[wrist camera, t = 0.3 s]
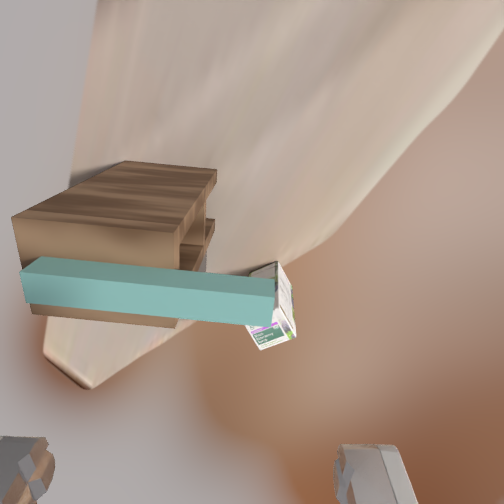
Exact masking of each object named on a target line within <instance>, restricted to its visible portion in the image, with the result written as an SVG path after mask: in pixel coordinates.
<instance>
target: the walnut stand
mask: <svg viewBox="0 0 504 504" xmlns="http://www.w3.org/2000/svg"><path fill="white" fill-rule="evenodd" d="M216 182H217V169H207V168H197V167H186V166H176V165H166V164H155V163H145V162H134V161H124V162H122V163H120V164H118V165H116V166H114V167H112V168H110V169H108V170H106V171H104V172H102V173H100V174H98V175H96V176H94V177H91V178H89V179H87V180H85V181H83V182H81V183H79V184H77V185H75V186H73V187H71V188H69V189H67V190H65V191H63V192H61V193H59V194H57V195H55V196H53V197H51V198H49V199H47V200H45V201H43V202H41V203H39V204H37V205H35V206H33V207H31V208H29V209H27V210H25V211H23V212H21V213H19V214H16V215H14V216H12V217H11V219H12V223H13V229H14V233H15V238H16V242H17V247H18V252H19V256H20V261H21V265H22V270H23V269H24V268H26V267H27V266H28V265H30V264H31V263H32V262H34V261H35V260H37V259H38V258H39V257H41V256H44V257H54V258H64V259H74V260H84V261H94V262H104V263H114V264H124V265H134V266H144V267H155V268H165V269H175V270H185V271H195V272H198V270H199V268H200V265H201V263H202V260H203V258H204V255H205V253H206V250H207V248H208V245H209V243H210V240H211V238H212V236H213V233H214V231H215V219H209V218H206V199H207V198H208V196H209V194H210V193H211V191H212V189H213V188H214V186H215V184H216ZM30 307H31V311H32V314H36V315H46V316H56V317H66V318H75V319H85V320H95V321H105V322H115V323H125V324H135V325H145V326H155V327H164V328H174V329H175V327H176V324H177V322H178V319H179V318H171V317H161V316H151V315H141V314H132V313H122V312H112V311H102V310H92V309H82V308H72V307H62V306H52V305H42V304H32V303H30Z"/></svg>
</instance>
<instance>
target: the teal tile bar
mask: <svg viewBox="0 0 504 504" xmlns="http://www.w3.org/2000/svg"><path fill="white" fill-rule="evenodd" d="M19 273H20V277H21V282H22V286H23V291H24V295H25V300H26V303H32V304H42V305H52V306H62V307H72V308H82V309H92V310H102V311H112V312H122V313H132V314H141V315H151V316H161V317H171V318H181V319H191V320H201V321H212V322H222V323H231V324H241V325H251V326H261V327H271V323H272V316H273V308H274V300H275V279H266V278H255V277H245V276H235V275H225V274H215V273H205V272H195V271H185V270H175V269H165V268H155V267H144V266H134V265H124V264H114V263H104V262H94V261H84V260H74V259H64V258H54V257H44V256H41V257H39V258H38V259H37V260H35V261H34V262H32V263H31V264H30V265H28V266H27V267H26V268H24V269H23V270H21V271H20V272H19Z"/></svg>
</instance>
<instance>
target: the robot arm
mask: <svg viewBox="0 0 504 504" xmlns="http://www.w3.org/2000/svg"><path fill="white" fill-rule="evenodd" d="M48 445H49V444H48V442H47V440H46V438H45V437H12V436H0V504H37V500H38V499H39V498H40V497H41V496H42V495H43V494H44V493H46V491H47V490H48V488H49V485H50V483H51V481H52V478H53V474H54V470H55V459H54V456H53V454H51V453H50V452H49V451H47V450H46V449H47V447H48ZM337 452H338V457H339V458H338V459H337V460H336V461H335V464H334V470H333V471H334V474H333V475H334V477H333V478H334V488H335V493H336V498H337V499H338V501H339V502H340V503H341V504H418V502H417V499H416V497H415V494H414V491H413V489H412V486H411V483H410V481H409V478H408V475H407V472H406V470H405V467H404V464H403V462H402V459H401V456H400V454H399V451H398V449H397V448H396V447H395V446H393V445H375V444H341V445H340V446H339V447H338V451H337Z"/></svg>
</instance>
